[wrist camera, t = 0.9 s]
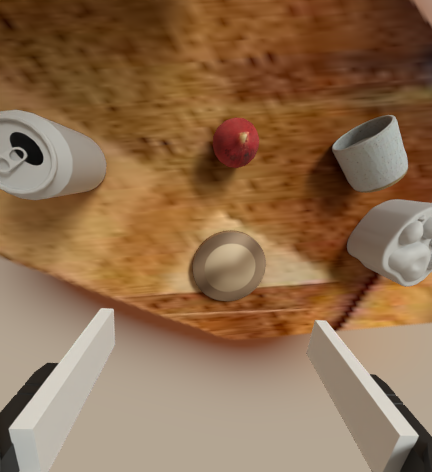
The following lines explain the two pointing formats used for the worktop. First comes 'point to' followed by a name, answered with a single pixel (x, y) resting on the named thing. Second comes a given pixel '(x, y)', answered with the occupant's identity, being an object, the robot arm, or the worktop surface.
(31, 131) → the can
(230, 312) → the worktop surface
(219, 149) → the onion
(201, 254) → the disc
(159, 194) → the worktop surface
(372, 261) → the lumpy-topped squat cylinder
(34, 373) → the robot arm
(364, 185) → the ceramic mug
